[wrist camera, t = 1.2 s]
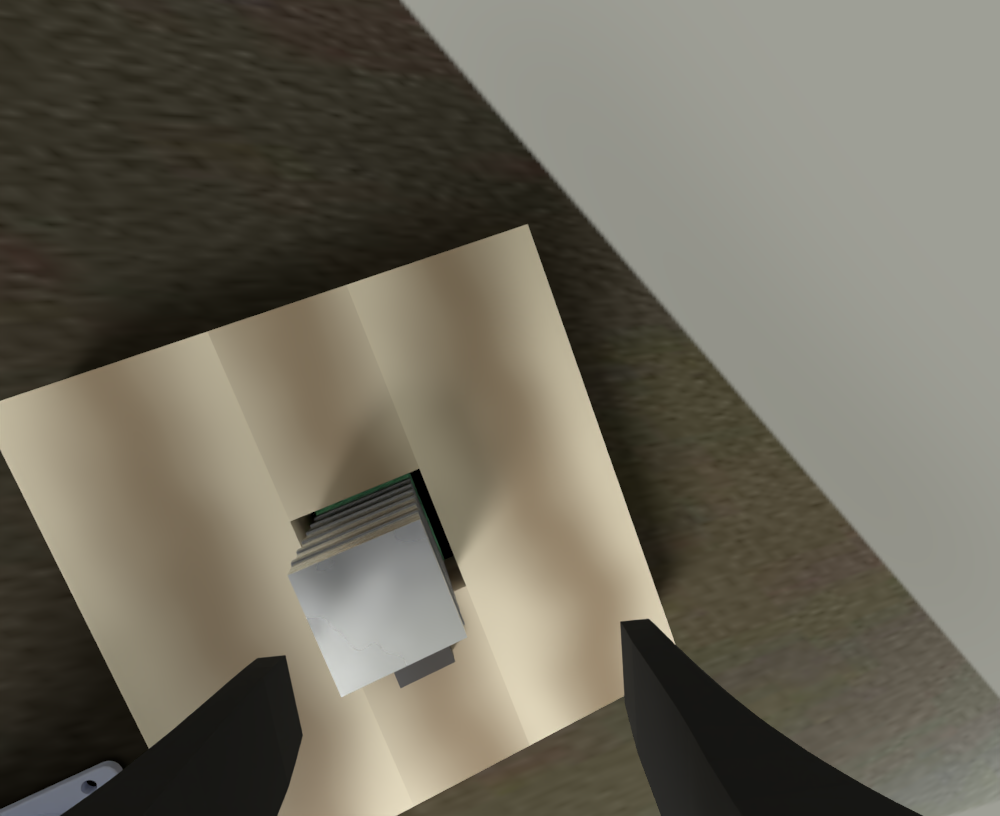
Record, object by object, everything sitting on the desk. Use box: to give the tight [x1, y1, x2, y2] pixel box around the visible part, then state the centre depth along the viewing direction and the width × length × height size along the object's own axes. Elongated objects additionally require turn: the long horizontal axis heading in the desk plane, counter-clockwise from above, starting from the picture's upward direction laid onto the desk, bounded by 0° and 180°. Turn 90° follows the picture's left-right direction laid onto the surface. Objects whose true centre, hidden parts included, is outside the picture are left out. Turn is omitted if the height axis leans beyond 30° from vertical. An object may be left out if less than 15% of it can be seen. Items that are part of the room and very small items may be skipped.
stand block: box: [0, 224, 675, 816], centre depth 20 cm, size 18×18×4 cm
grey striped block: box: [288, 473, 467, 697], centre depth 18 cm, size 4×4×8 cm
